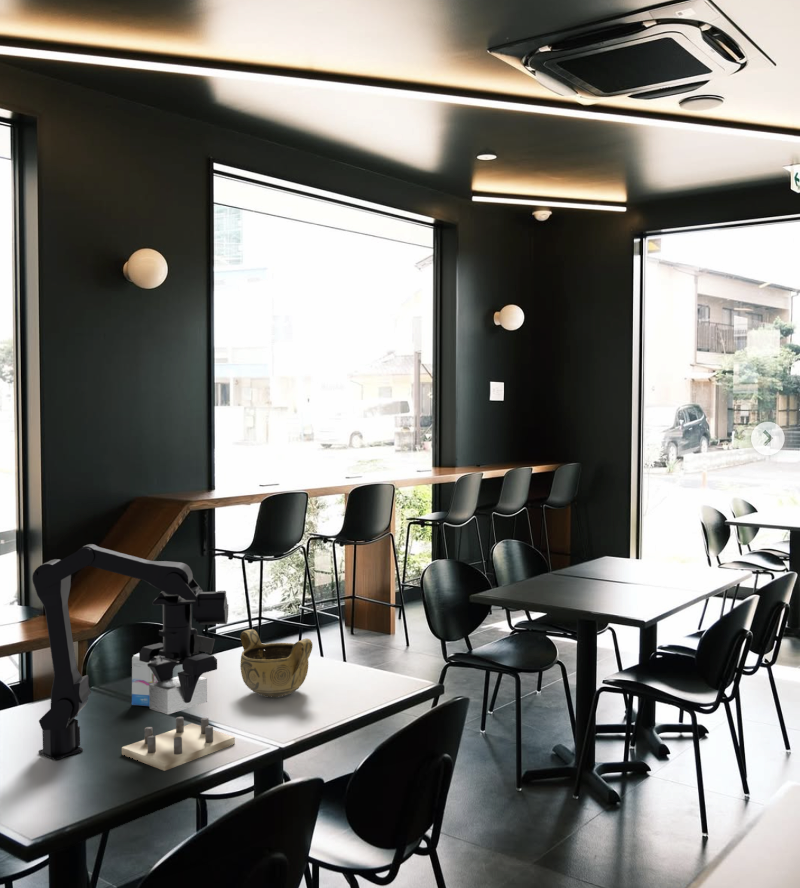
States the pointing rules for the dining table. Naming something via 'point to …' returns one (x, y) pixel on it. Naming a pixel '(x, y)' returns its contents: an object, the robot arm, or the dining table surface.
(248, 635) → the ceramic bowl
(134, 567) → the robot arm
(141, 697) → the ink box
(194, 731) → the pin tray
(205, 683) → the block
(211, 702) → the dining table surface
